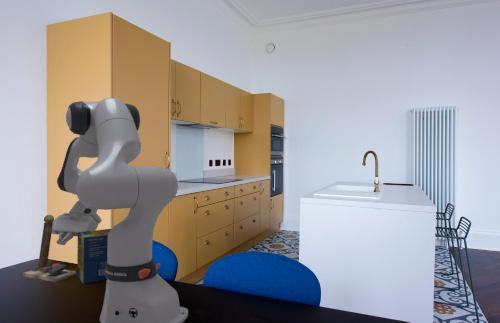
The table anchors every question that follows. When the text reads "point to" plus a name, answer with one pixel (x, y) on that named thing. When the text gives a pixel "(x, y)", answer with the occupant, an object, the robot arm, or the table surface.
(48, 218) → the lever
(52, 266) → the button
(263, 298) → the table surface
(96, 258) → the protein box
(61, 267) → the block
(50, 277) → the board
